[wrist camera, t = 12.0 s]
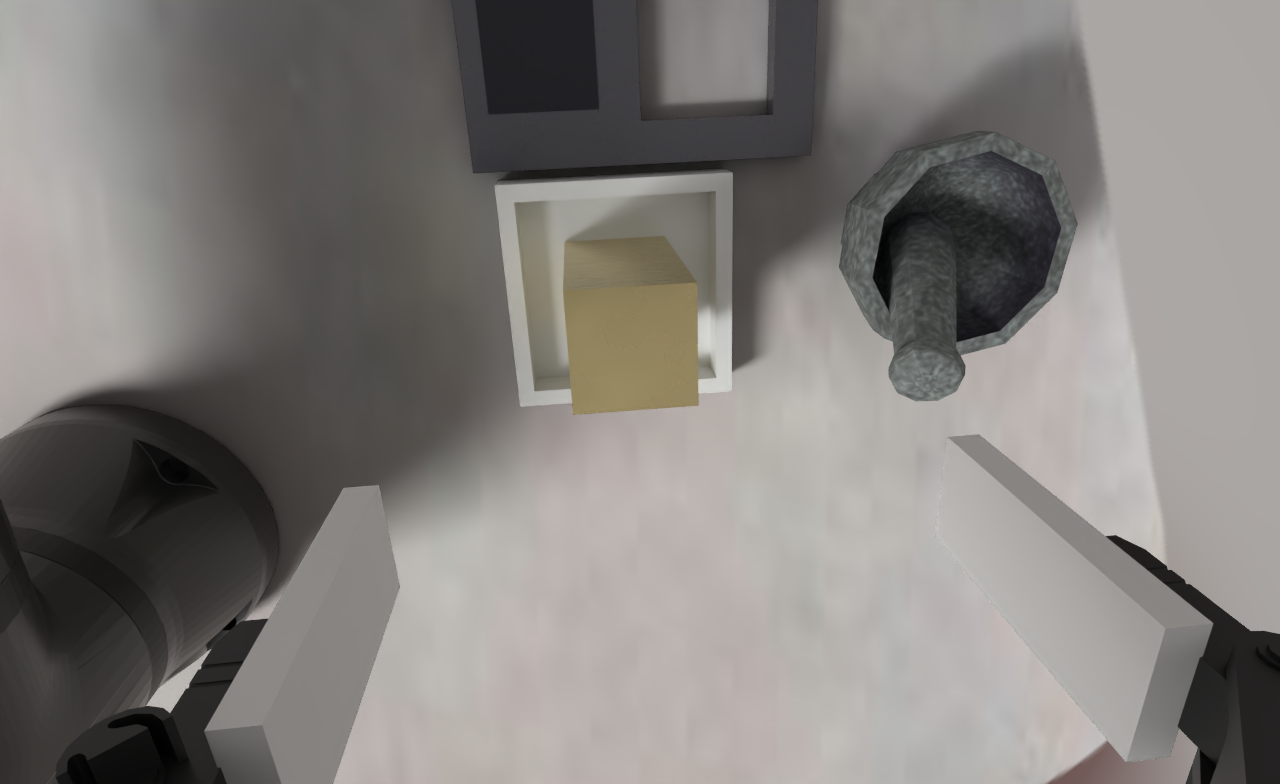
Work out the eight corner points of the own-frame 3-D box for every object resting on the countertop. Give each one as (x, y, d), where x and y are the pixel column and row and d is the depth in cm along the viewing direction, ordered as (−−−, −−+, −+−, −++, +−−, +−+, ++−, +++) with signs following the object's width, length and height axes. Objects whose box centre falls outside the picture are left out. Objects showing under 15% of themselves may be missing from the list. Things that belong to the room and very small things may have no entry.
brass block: (572, 337, 37) (573, 414, 28) (564, 241, 36) (562, 290, 26) (666, 331, 38) (698, 405, 29) (664, 235, 36) (697, 282, 27)
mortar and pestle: (910, 85, 35) (1070, 78, 24) (1025, 210, 38) (1215, 257, 27) (752, 264, 37) (830, 333, 26) (871, 368, 40) (986, 470, 29)
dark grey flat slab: (476, 170, 34) (473, 173, 33) (446, -74, 31) (441, -81, 29) (803, 153, 35) (811, 155, 34) (813, -84, 32) (822, -92, 30)
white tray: (522, 391, 39) (520, 407, 37) (498, 180, 35) (494, 185, 33) (723, 376, 39) (731, 391, 37) (723, 168, 35) (733, 172, 33)
